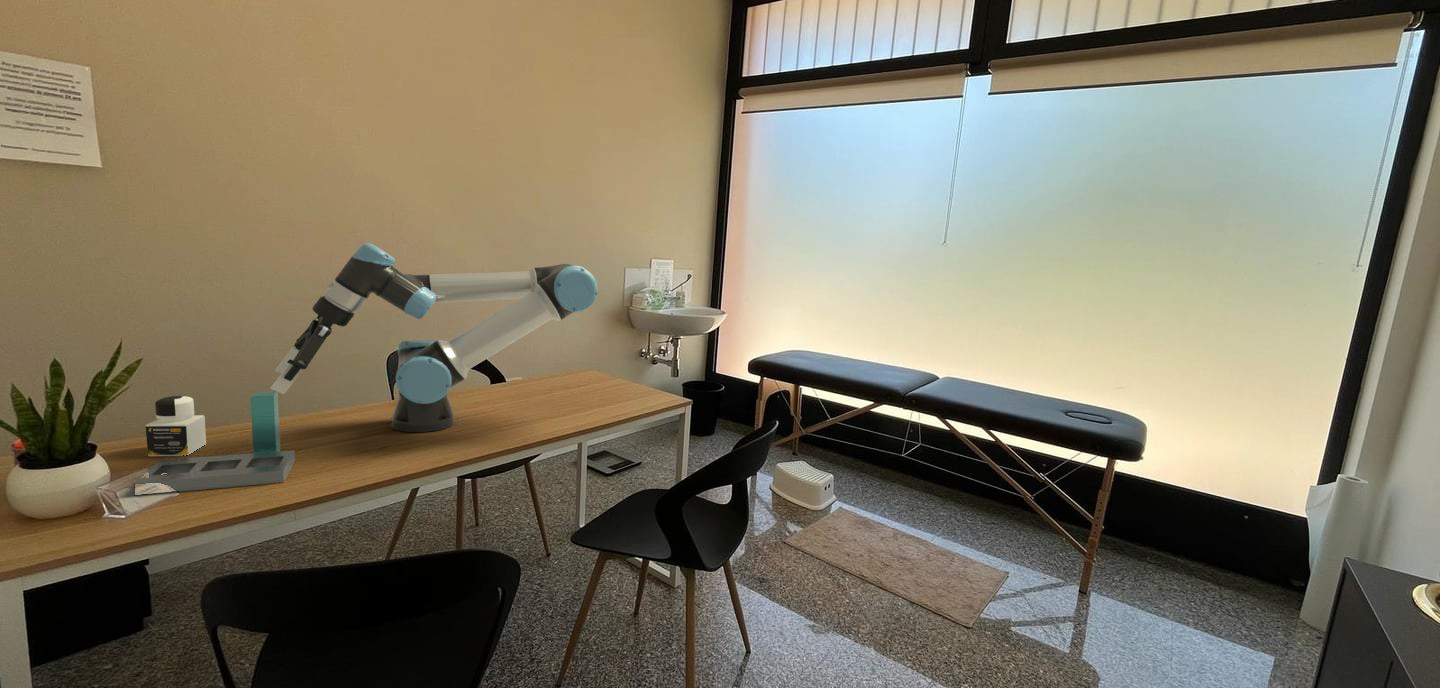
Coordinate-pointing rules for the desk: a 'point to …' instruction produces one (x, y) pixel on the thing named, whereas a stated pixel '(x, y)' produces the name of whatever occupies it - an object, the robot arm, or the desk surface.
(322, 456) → the desk surface
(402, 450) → the desk surface
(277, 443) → the peg
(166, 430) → the medicine bottle
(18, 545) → the desk surface
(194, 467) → the rail
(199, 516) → the desk surface
